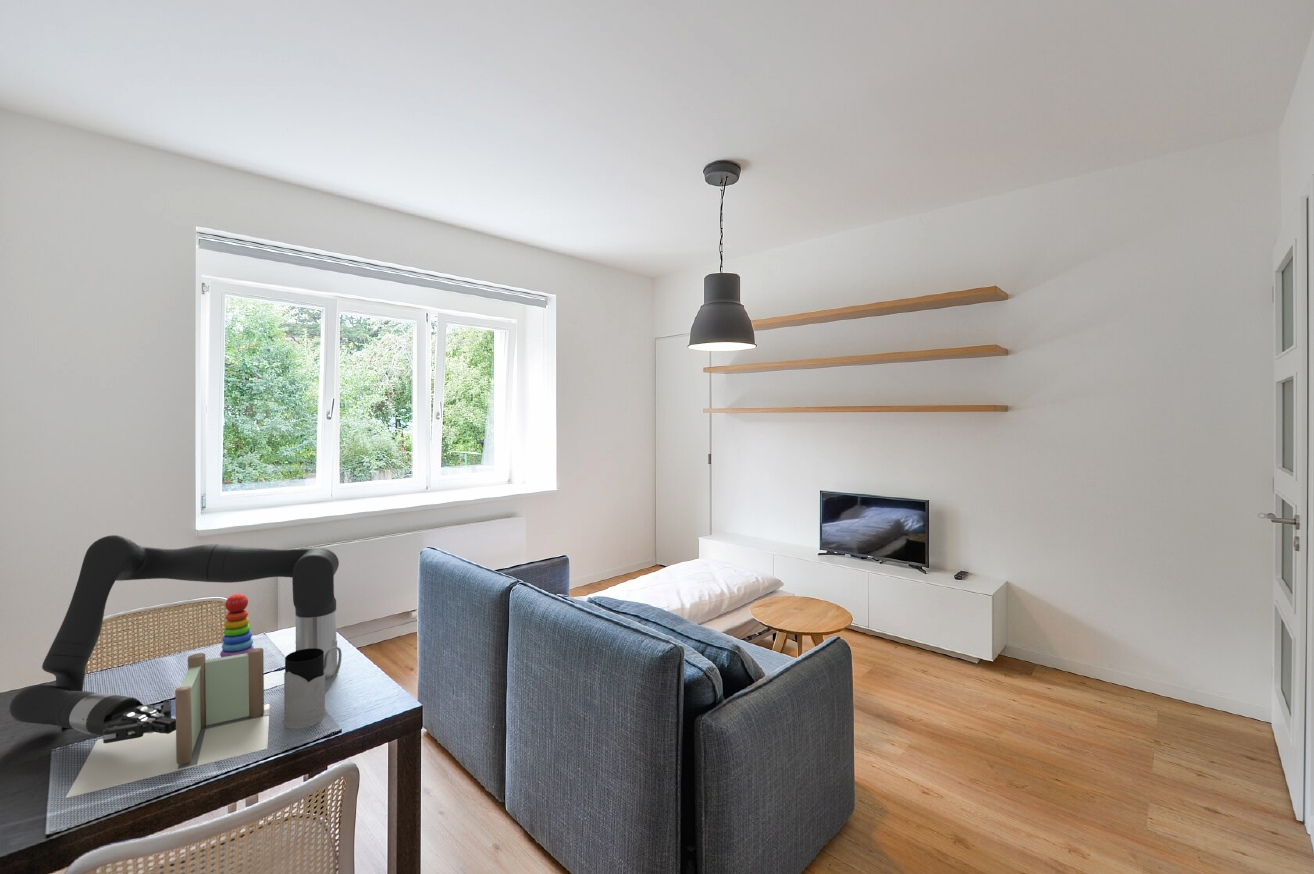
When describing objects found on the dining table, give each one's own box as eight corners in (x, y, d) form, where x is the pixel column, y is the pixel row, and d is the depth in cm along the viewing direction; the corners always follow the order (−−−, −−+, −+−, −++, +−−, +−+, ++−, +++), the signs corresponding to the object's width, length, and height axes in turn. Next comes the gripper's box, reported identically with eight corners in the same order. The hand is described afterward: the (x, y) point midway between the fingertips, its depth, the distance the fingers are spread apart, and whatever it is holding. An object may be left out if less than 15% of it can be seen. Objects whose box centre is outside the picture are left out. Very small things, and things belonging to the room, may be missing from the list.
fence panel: (189, 730, 125) (187, 664, 124) (203, 727, 126) (202, 662, 125) (175, 766, 113) (173, 692, 112) (191, 762, 114) (189, 690, 113)
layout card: (269, 705, 138) (269, 703, 138) (267, 750, 120) (267, 747, 120) (97, 741, 122) (97, 739, 122) (65, 799, 104) (65, 797, 104)
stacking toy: (262, 658, 162) (261, 592, 162) (233, 670, 155) (232, 601, 154) (242, 653, 165) (241, 588, 164) (212, 665, 158) (211, 597, 157)
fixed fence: (264, 710, 135) (263, 642, 134) (263, 716, 132) (263, 647, 131) (190, 726, 127) (188, 654, 127) (188, 732, 125) (186, 660, 124)
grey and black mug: (272, 725, 129) (272, 659, 128) (326, 695, 143) (326, 636, 142) (302, 733, 127) (302, 666, 126) (355, 702, 140) (354, 641, 139)
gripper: (66, 713, 113) (136, 725, 109) (140, 682, 126) (205, 692, 122) (67, 750, 113) (137, 764, 109) (141, 715, 126) (206, 727, 122)
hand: (173, 726), depth 116 cm, fingers closed
